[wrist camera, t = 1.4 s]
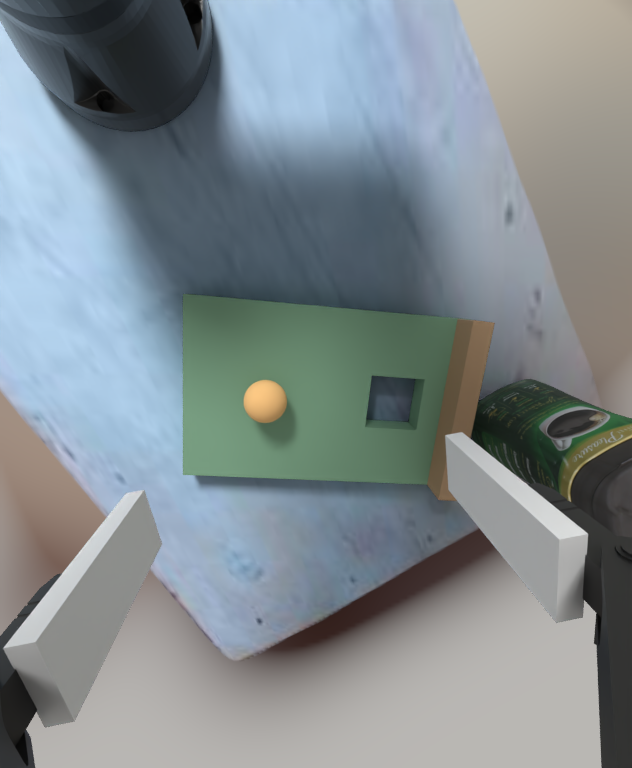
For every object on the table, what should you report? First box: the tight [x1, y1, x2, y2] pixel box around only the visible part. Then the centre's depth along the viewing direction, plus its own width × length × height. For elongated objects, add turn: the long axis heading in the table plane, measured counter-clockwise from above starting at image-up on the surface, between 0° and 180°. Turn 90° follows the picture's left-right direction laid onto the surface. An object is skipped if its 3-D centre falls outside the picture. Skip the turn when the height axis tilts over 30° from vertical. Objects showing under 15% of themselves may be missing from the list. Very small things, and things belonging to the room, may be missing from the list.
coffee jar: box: [471, 379, 632, 537], centre depth 31 cm, size 10×8×19 cm
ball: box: [244, 380, 287, 423], centre depth 32 cm, size 4×4×4 cm
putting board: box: [183, 294, 495, 501], centre depth 35 cm, size 28×18×6 cm, turn 85°
